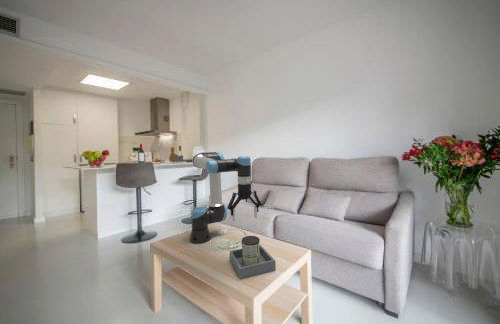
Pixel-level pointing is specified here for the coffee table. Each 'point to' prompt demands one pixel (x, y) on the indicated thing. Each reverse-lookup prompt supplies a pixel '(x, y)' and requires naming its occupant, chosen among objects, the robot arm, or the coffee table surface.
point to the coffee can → (250, 250)
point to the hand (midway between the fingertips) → (244, 219)
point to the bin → (247, 271)
